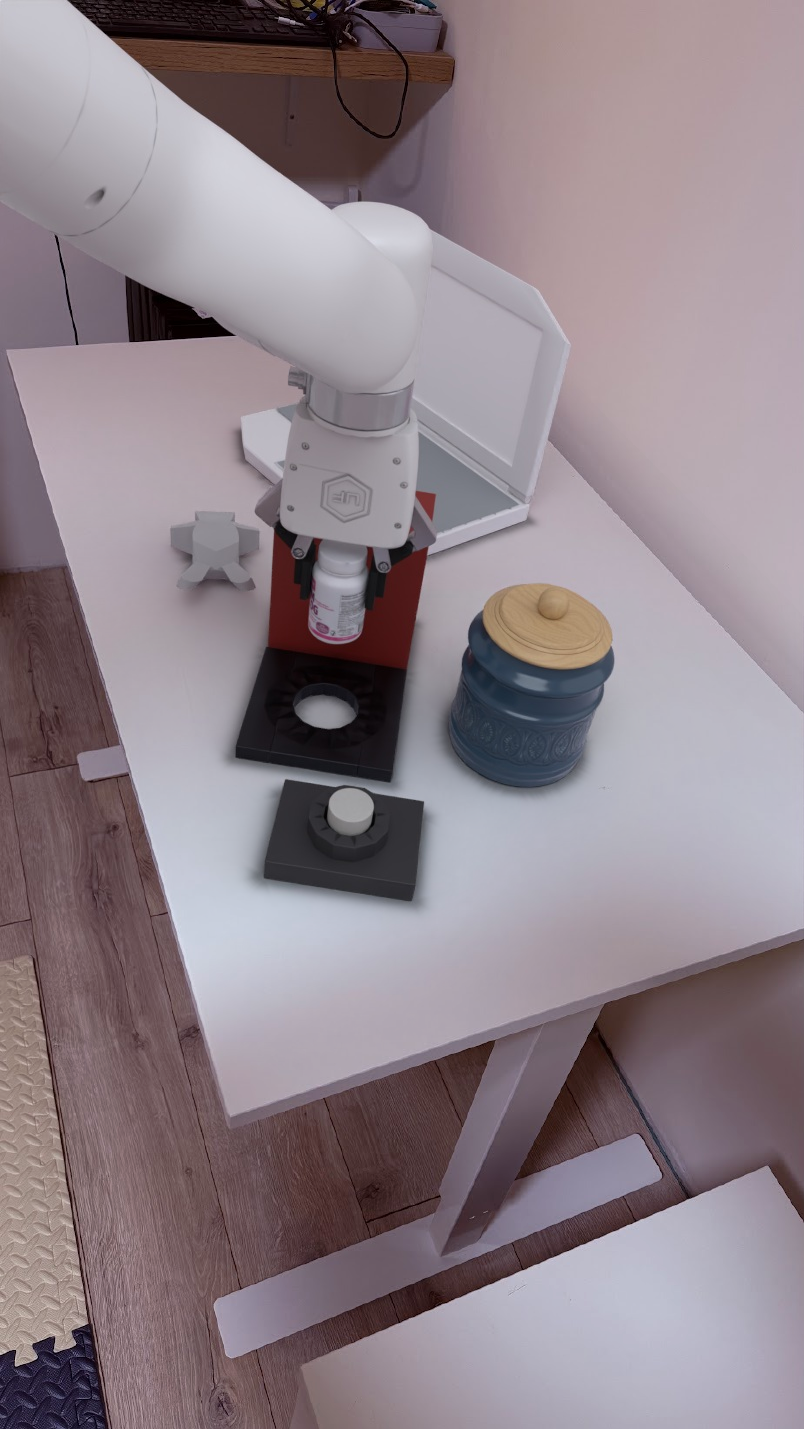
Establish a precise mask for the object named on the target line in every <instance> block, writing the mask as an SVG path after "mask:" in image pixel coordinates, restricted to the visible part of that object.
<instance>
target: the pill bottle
mask: <svg viewBox="0 0 804 1429" xmlns="http://www.w3.org/2000/svg"><path fill="white" fill-rule="evenodd" d="M366 562H367V547H366V546H361V545H355V544H348V543H342V542H336V541H330V540H324V539H323V540H322V541H321V543H320V545H319V550H318V560H317V561H316V562H315V564H314V566H313V570H312V580H311V595H310V607H309V618H308V626H309V629H310V631H311V633H312V634H313V635H314V636H315V637H316V638H317V639H319V640H321V641H323V642H326V643H330V644H344V643H349V642H351V641H354V640H355V639H357V638H358V637H359V636H360V634H361V632H362V629H363V622H364V614H365V600H366V592H367V585H368V577H369V571H368V568H367V566H366Z"/></svg>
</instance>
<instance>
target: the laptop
mask: <svg viewBox="0 0 804 1429" xmlns="http://www.w3.org/2000/svg"><path fill="white" fill-rule="evenodd" d="M429 229H430V231H431V233H432V238H433V255H432V263H431V270H430V277H429V284H428V291H427V298H426V305H425V312H424V319H423V326H422V333H421V339H420V346H419V353H418V360H417V367H416V374H415V381H414V387H413V394H412V401H411V409H412V410H413V411H414V412H415V414H416V416H417V422H418V437H419V457H418V473H417V484H416V491H421V492H427V493H433V494H436V499H435V506H434V514H433V521H432V523H433V524H434V526H435V527H436V529H437V537H436V542H435V543H434V544H432V545H430V546H429V548H428V554H427V557H428V556H430V555H433V554H436V553H439V552H441V551H445V550H447V549H450V548H453V547H456V546H458V545H460V544H464V543H466V542H469V541H472V540H475V539H477V538H481V537H484V536H486V535H489V534H492V533H495V532H497V531H500V530H502V529H505V528H508V527H512V526H514V525H516V524H520V523H522V522H525V521H527V520H528V519H527V518H528V514H529V511H530V507H531V506H530V505H531V504H530V503H529V502H530V501H531V500H532V496H534V494H535V489H536V486H537V483H538V478H539V474H540V470H541V466H542V462H543V459H544V454H545V451H546V447H547V444H548V440H549V435H550V431H551V428H552V424H553V420H554V415H555V413H556V412H555V411H556V408H557V404H558V400H559V396H560V391H561V388H562V385H563V384H562V383H563V381H564V376H565V374H566V373H565V372H566V368H567V365H568V360H569V356H570V353H571V349H572V344H571V342H570V341H569V339H568V337H567V336H566V334H565V332H564V330H563V328H562V327H561V325H560V324H559V322H558V320H557V319H556V317H555V315H554V314H553V312H552V310H551V308H550V307H549V305H548V303H547V302H546V301H545V298H544V297H543V295H542V293H541V292H540V290H539V289H538V288H536V287H535V286H533V285H531V284H530V283H527V282H526V281H524V280H522V279H521V278H519V277H517V276H515V275H514V274H511V273H510V272H508V271H506V270H504V269H503V268H501V267H499V266H497V265H495V264H494V263H492V262H490V261H488V260H486V259H485V258H482V257H481V256H479V255H477V254H475V253H474V252H472V251H470V250H468V249H467V248H464V247H463V246H462V245H459V244H457V243H456V242H454V241H452V240H450V239H449V238H447V237H445V236H444V235H442V234H440V233H437V232H436V231H434V230H432V229H431V228H429ZM298 403H299V402H295V403H292V404H287V405H283V406H279V407H275V408H270V409H267V410H262V411H258V412H254V413H249V414H246V415H241V416H240V417H239V418H240V430H241V438H242V440H241V441H242V448H243V453H244V458H245V459H244V460H245V461H246V462H248V463H249V464H250V466H252V467H253V468H254V469H256V471H258V472H259V474H261V475H262V476H264V478H266V479H267V480H268V481H269V482H270V483H272V485H273V486H274V485H276V484H277V483H278V482H279V481H280V480H281V479H282V478H283V472H284V464H285V456H286V449H287V443H288V437H289V432H290V427H291V423H292V419H293V416H294V412H295V409H296V406H297V405H298Z"/></svg>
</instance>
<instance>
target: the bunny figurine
mask: <svg viewBox="0 0 804 1429" xmlns="http://www.w3.org/2000/svg"><path fill="white" fill-rule="evenodd" d="M169 532H170V547H171V548H173V549H176V550H179V551H182V552H184V553H187V554H189V555H191V556H192V564H191V565H190V566H189V567H188V568H186V569H185V570H184V571H183V572H182V573H181V575H180V577H179V579H178V581H177V582H176V587H177V588H178V589H179V590H183V591H189V590H194V589H195V588H196V587H197V586H198V585H199V584H201V582H202V581H206V580H207V579H210V580H225V581H227V582H231V583H232V584H233V586H235V587H236V588H237V590H240V591H244V592H252V591H254V590H256V589H257V588H256V584H255V581H254V580H253V577H252V575H251V574H250V573H249V572H248V571H246V570H245V569H244V568H243V567H242V566H241V565H240V556H242V555H245V554H248V553H252V552H254V551H257V550H259V549H260V532H261V530H260V529H259V528H257V527H253V526H249V525H245V524H242V523H238V522H236V512H235V511H215V510H195V511H194V521H190V522H185V523H184V522H183V523H180V524H174V525H171V526H170V529H169Z"/></svg>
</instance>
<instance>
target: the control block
mask: <svg viewBox="0 0 804 1429" xmlns="http://www.w3.org/2000/svg"><path fill="white" fill-rule="evenodd" d="M345 788H355V789H359V790H361V791H363V792H365V793H366V794H368V795H369V796H370V797H371V799H372V801H373V804H374V810H373V815H372V821H371V825H370V827H369V828H368V829H367V830H366V831H365V832H364V833H362V834H359V835H355V836H348V835H342V834H340V833H338V832H336V831H334V830H333V829H332V828H331V827H330V825H329V823H328V820H327V814H328V806H329V800H330V798H331V796H332V795H333V794H334V793H335V792H337V791H338V790H341V789H345ZM424 807H425V801H424V800H419V799H412V798H406V797H401V796H400V797H399V796H395V795H394V796H393V795H388V794H382V793H375V792H372V791H370V790H369V789H367V788H366V787H360V786H355V785H349V784H343V785H342V784H341V785H338V786H331V785H326V784H318V783H314V782H313V783H312V782H306V781H300V780H295V779H288V778H285V779H284V781H283V785H282V789H281V794H280V797H279V802H278V806H277V809H276V814H275V817H274V822H273V825H272V829H271V833H270V838H269V842H268V846H267V851H266V854H265V858H264V863H263V864H264V866H263V878H264V879H268V880H274V881H281V882H287V883H294V884H299V885H305V886H311V887H312V886H313V887H318V888H325V889H331V890H338V891H344V892H350V893H357V894H362V895H368V896H376V897H381V898H388V899H393V900H394V899H395V900H401V901H406V902H412V901H413V896H414V893H415V889H416V885H417V884H416V881H417V874H418V873H417V872H418V864H419V855H420V847H421V846H420V845H421V836H422V826H423V819H424V818H423V817H424Z"/></svg>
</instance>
